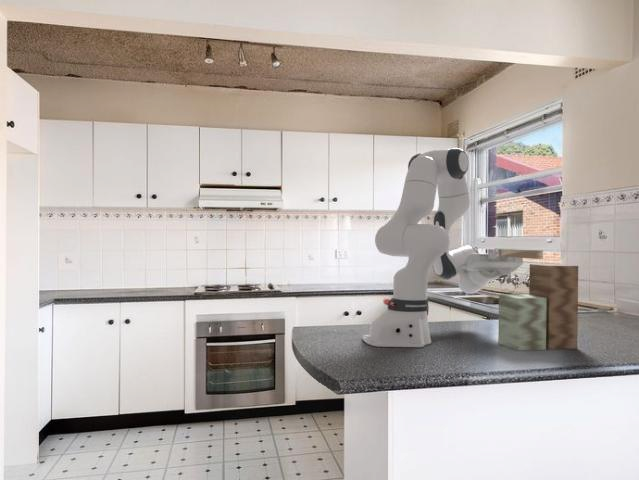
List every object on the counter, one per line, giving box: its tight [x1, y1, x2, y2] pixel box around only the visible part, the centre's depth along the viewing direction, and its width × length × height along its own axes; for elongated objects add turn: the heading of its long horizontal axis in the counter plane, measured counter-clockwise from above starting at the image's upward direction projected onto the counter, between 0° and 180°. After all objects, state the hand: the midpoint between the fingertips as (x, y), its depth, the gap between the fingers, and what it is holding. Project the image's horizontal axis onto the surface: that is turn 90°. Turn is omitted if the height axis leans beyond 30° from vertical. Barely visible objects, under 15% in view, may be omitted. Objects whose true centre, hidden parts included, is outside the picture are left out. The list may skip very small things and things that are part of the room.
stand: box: [497, 263, 579, 351], centre depth 146 cm, size 21×10×26 cm, turn 100°
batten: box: [494, 248, 544, 260], centre depth 148 cm, size 3×22×3 cm, turn 10°
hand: (504, 251), depth 155 cm, fingers closed on batten, 3 cm apart
